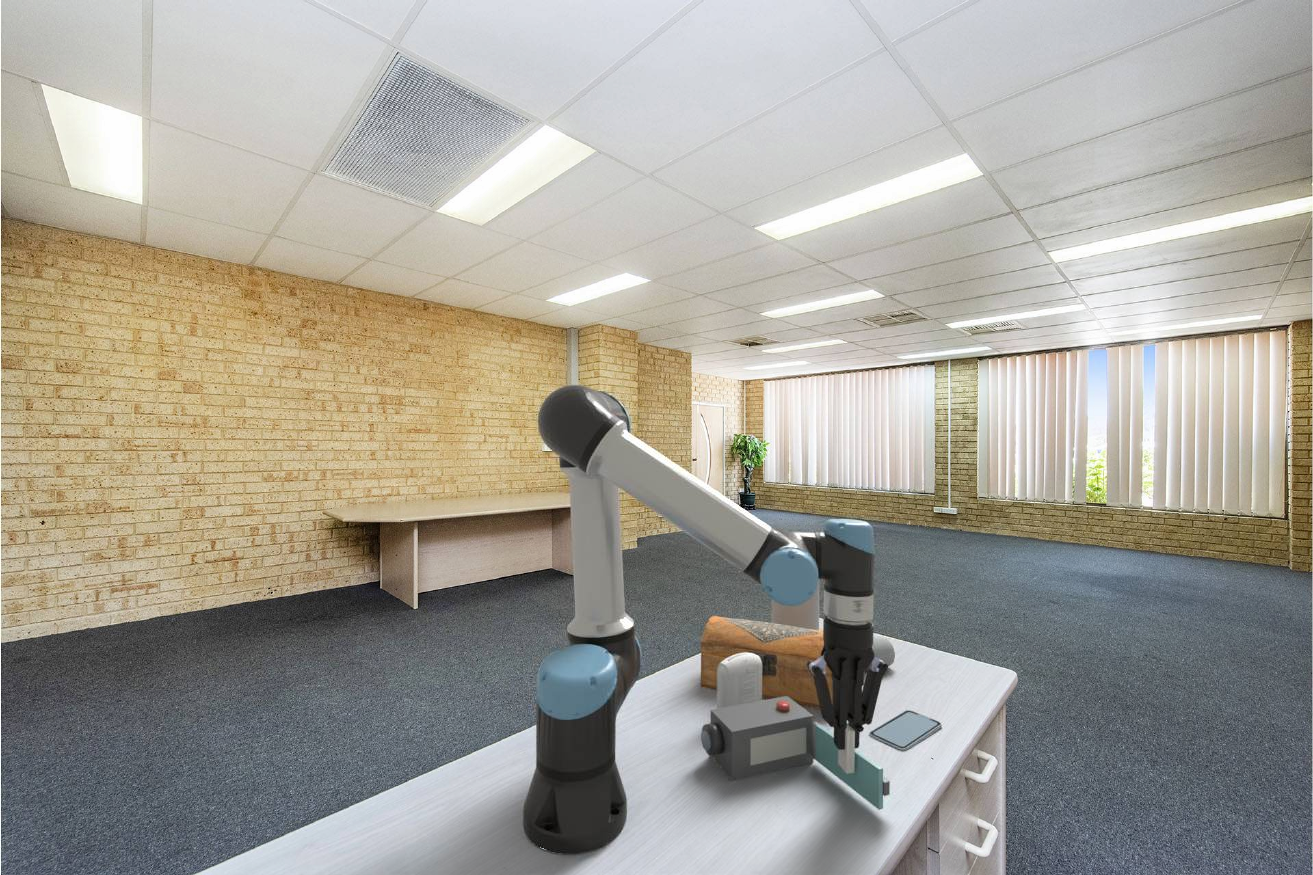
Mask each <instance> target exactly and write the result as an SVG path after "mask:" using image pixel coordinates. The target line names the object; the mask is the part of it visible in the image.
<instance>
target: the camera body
mask: <svg viewBox="0 0 1313 875" xmlns="http://www.w3.org/2000/svg"><path fill="white" fill-rule="evenodd" d="M813 723H814V715H813V714H812V713H810V712H809V711H808V710H807V709H806V708H804V707H803V706H802V705H799V704H797V703H796V702H795V701H793V700H792V699H791V698H789V697H788V696H784V697H778V698H773V699H762V701H756V702H751V703H745V704H740V705H734V706H728V707H723V708H717V707H716V708H712V709H710V723H706V724H704V725H703V726H702V727H701V733H700V741H701V746H702V747H703V750H704V751H705V752H706V755H708V756H709V757H712V759H713V760H714V761H715V762H716V763H717V765H718V767H719V768H721V769H722V771H723V772H724V773H725V775H726V776H727V777H728V778H729V779H730V781H731V782H732V781H737V780H741V779H746V778H750V777H754V776H758V775H762V774H766V773H771V772H772V773H773V772H776V771H779V770H783V769H789V768H792V767H797V766H802V765H806V764H809V763H813V762H814V759H813Z"/></svg>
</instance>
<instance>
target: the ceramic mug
mask: <svg viewBox="0 0 1313 875" xmlns="http://www.w3.org/2000/svg"><path fill="white" fill-rule="evenodd" d="M872 649H873V651H874V654H875V657H876V658H879V659H880V660H882V661H883V662H885V663H886V664H887V665H888V667H889V666H892V664H894V661H895V658H896V652H895V648H894V646H893V644H892V643H891V642H890V640H889V639H887V638H885V637H883V636H873V645H872ZM868 668H869V667H868ZM867 671H868V669H867V670H866V672H867Z"/></svg>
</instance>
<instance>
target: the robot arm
mask: <svg viewBox="0 0 1313 875" xmlns="http://www.w3.org/2000/svg"><path fill="white" fill-rule="evenodd" d="M626 409H627V408H626V407H625V406H624V405H623V404H622V403H621V401H620V400H619V399H617V398H616V397H615V396H613V395H612V394H610V393H607V392H605V391H602V390H596V389H593V388H590V387H588V386H584V385H579V384H570V385H565V386H564V385H563V386H562V387H559V388H557V389H555V390H554V391H552V392H551V393H550V394H549V395H548V396H547V397H546V398H545V399H544V401H543V402H542V404H541V406H540V408H539V411H538V416H537V427H538V432H539V435H540V438H541V439H542V441H543V442H544V444H545V445H546V447H547V448H549V450H550V451H551V452H553V453H554V454H555V455H557V456H559V469H560V471H561V472H562V473H563V474H564V475H565V476H566V477H567V478H568V480H569V501H570V502H569V503H570V523H571V524H570V525H571V528H570V529H571V547H572V567H573V568H572V570H573V591H574V609H575V610H574V611H575V612H574V613H575V614H574V618H573V619H572V620H571V621H570V622H569V623H568V624H567V626H566V631H567V632H566V633H567V636H566V637H567V646H564V648H563V649H559V648H558V649H555V651H553V652H552V653H551V652H550V654H548V655H547V656H546V657H545V658H544V659H543V661H542V662H541V664H540V666H539V667H538V670H537V671H538V672H537V676H536V677H537V678H536V684H535V690H534V691H535V703H536V705H535V706H536V708H535V711H536V713H535V714H536V716H535V718H536V719H535V721H536V724H535V725H536V726H535V728H536V729H535V731H536V732H535V739H536V741H535V742H536V744H535V747H536V748H535V749H536V750H535V759H536V760H535V769H534V772H533V775H532V779H531V782H530V785H529V789H528V791H527V794H526V796H525V801H524V804H523V814H522V815H523V818H522V824H523V825H522V826H523V830H524V834H525V836H526V837H527V839H528V840H529V841H530V842H531V843H532V844H533V845H534V846H536V847H537V846H538V848H539V847H541V848H544V849H546V850H547V851H546V850H545V851H546V852H549V851H550V852H549V853H553V852H554V854H558V853H562V854H561V855H575V854H576V855H577V854H583V853H588V852H591V851H594V850H597V849H599V848H601V847H604V846H605V845H607V844H609V843H610V842H611V841H613V840H614V839H615V838H616V837H617V836H618V835H619V834H620V833H621V831H622V830H623V829H624V827H625V824H626V822H627V819H628V818H627V816H628V814H627V813H628V809H627V808H628V799H627V794H626V791H625V788H624V785H623V781H622V778H621V775H620V771H619V768H618V765H617V763H616V742H617V740H616V733H617V732H616V728H617V727H616V722H617V717H618V716H617V715H618V713H619V711H620V710H621V707H622V705H623V704H624V702H625V700H626V698H627V697H628V695H629V693H630V692H631V690H632V688H633V687H634V686H635V684H636V682H637V681H638V679H639V676H640V672H641V668H642V661H643V655H642V653H643V652H642V649H641V648H642V647H641V644H640V641H639V640H638V638H637V636H636V635H635V632H636V631H635V620H634V619H633V618H632V617H631V616H630V615H629V614H628V613H627V612H626V608H625V606H626V604H625V587H624V586H625V584H624V569H623V568H624V567H623V566H624V564H623V562H624V561H623V545H622V523H621V504H620V502H621V501H620V489H621V490H622V491H624V492H625V493H627V494H628V495H629V496H631V497H632V498H634V499H635V500H637V501H638V502H640V503H641V504H642V505H644V506H645V507H647V508H648V509H650V510H651V511H653V512H655V513H656V514H658V515H659V516H661V517H662V518H663V519H664V520H666V521H667V522H669V523H671V524H672V525H674V526H675V527H676V528H678V529H680V530H681V531H682V532H684V534H685V533H686V535H688V536H690V537H691V538H692V539H694V540H695V541H697V542H698V543H700V544H702V545H703V546H705V547H706V548H707V549H709V550H711V552H713V553H715V554H716V555H718V557H720V558H722V559H724V560H725V561H726V562H728V563H729V564H730V565H733V566H734V567H735V568H737V569H738V570H740V571H741V572H742V573H744V574H745V575H747V576H748V577H749V578H750V579H752V580H753V581H755V582H756V583H758V584H759V585H761V587H762V589H763V591H764V592H765V593H766V594H767V596H768V597H769V598H770V599H771V601H772V600H774V601H775V602H777V603H779V604H781V605H785V606H797V605H801V604H803V603H805V602H807V601H808V600H809V599H810V598H811V597H812V596H813V595H814V593H815V592H816V589H817V586H818V579H819V580H823V614H824V615H825V616H824V617H823V623H822V624H823V626H822V627H823V628H822V631H823V640H824V646H823V649H822V651H821V657H820V658H818V659H817V660H816V661H814V662H813V661H808V662H807V667H808V668H809V670H810V672H811V673H812V675H813V678H814V683H815V687H816V692H817V696H818V701H819V705H820V709H819V710H820V714H821V718H822V719H823V720H824V722H826V723H827V724H828V726H829V727H831V728H833V734H834V744H835V746H836V747H837V748H838V764H839V765H840V766H841V768H842V769H843V770H844V771H845V772H846V774H848V773H854V762H855V749H856V750H857V749H859V747H860V733H862V732H864V729H865V728H864V725H868V726H869V725H871V724H872V722H873V719H874V714H875V710H876V706H877V702H878V699H879V698H878V697H879V693H880V688H881V685H882V680H883V678H884V676H885V675H886V674H887V671H888V670H889V666H888V665H887V664H886V663H885V662H883V661H882V660H880V659H879V658H876V657H875V654H874V651H873V649H872V645H873V637H874V623H873V622H872V620H873V619H874V596H875V595H874V593H875V592H874V588H875V587H874V586H875V585H874V584H875V583H874V582H875V581H874V580H875V555H876V550H875V539H874V538H875V534H874V533H875V532H874V528H873V526H872V524H870V523H869V522H867V521H865V520H859V519H851V518H850V519H849V518H830V519H827V520H826V521H825V522H824V528H823V530H819V531H805V530H792V529H791V530H787V529H775V528H772V526H770V525H769V524H767V523H766V522H764V521H763V520H760V519H759V518H758V517H756V516H755V515H754V514H752V513H751V512H750V511H749V512H748V511H747V510H746V509H744V508H742V507H741V506H740V505H738V504H737V503H736V502H734V501H732V500H731V499H730V498H727V496H724V495H723V494H721V493H720V492H719V491H717V490H716V489H714V488H713V487H712V486H709V484H707V483H705V482H704V481H702V480H701V479H699V478H697V477H696V476H694V474H692V473H690V472H689V471H687V470H685V469H684V468H682V467H681V466H680V465H678V464H677V463H675V462H674V461H673V460H670V459H669V458H668V457H666V456H665V455H663V454H662V453H660V452H658V451H657V450H656V449H654V448H653V447H652V446H649V445H648V444H647V443H645V442H644V441H642V440H640V439H639V438H637V437H636V436H634V435H633V434H631V424H632V423H631V419H630V418H631V417H630V415H629V413H628V410H626ZM825 665H827V667H828V668H829V670H830V671H831V677H832V680H833V706H832V701H831V697H830V692H829V688H828V683H827V679H826V677H825V674H826V669H825ZM868 667H869V668H868ZM867 669H868V670H867ZM866 670H867V671H866ZM541 848H540V849H541Z"/></svg>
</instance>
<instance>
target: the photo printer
mask: <svg viewBox="0 0 1313 875" xmlns="http://www.w3.org/2000/svg"><path fill="white" fill-rule="evenodd" d="M762 700H763V698H762V662H761V659H760V657H759V656H758V655H755V654H753V653H739V654H735V655H732V656H730V657H728V658H726V659H725V660H723V661H722V662H721V663H720V664H719V665H718V668H717V690H716V709H717V708H723V707H728V706H734V705H740V704H745V703H751V702H756V701H762Z"/></svg>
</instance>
